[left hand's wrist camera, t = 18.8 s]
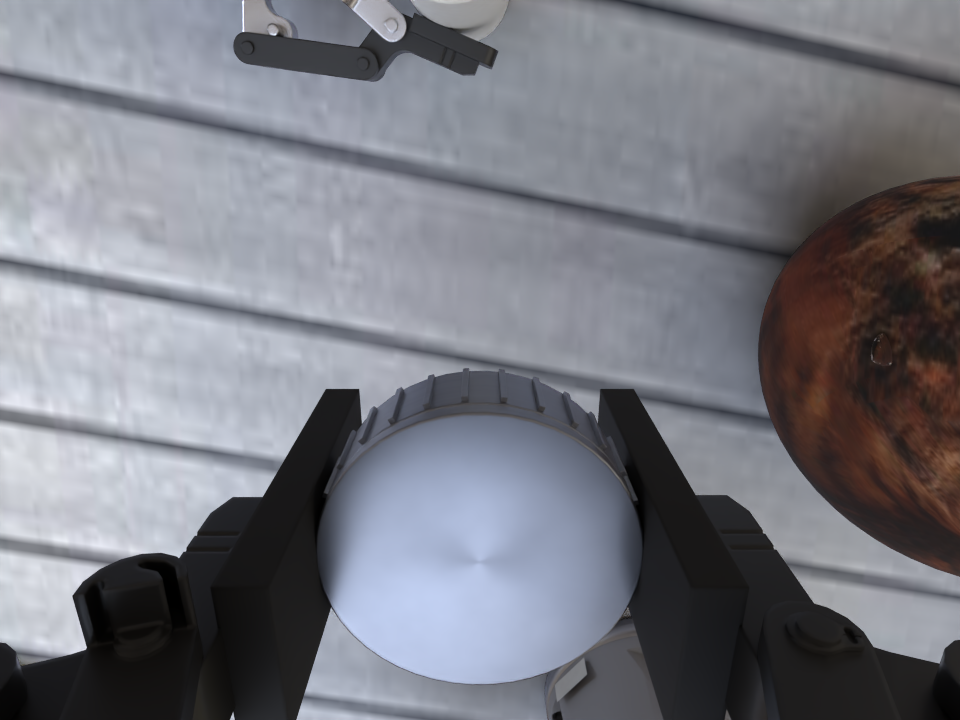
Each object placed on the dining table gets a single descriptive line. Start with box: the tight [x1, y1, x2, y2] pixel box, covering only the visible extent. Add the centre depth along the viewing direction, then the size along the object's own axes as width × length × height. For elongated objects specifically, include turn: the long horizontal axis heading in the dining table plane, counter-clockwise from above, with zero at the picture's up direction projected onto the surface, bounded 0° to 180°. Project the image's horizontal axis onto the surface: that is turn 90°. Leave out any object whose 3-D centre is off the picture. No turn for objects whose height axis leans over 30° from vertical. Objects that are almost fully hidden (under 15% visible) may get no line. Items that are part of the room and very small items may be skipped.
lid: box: [316, 368, 644, 685], centre depth 11 cm, size 6×6×2 cm
